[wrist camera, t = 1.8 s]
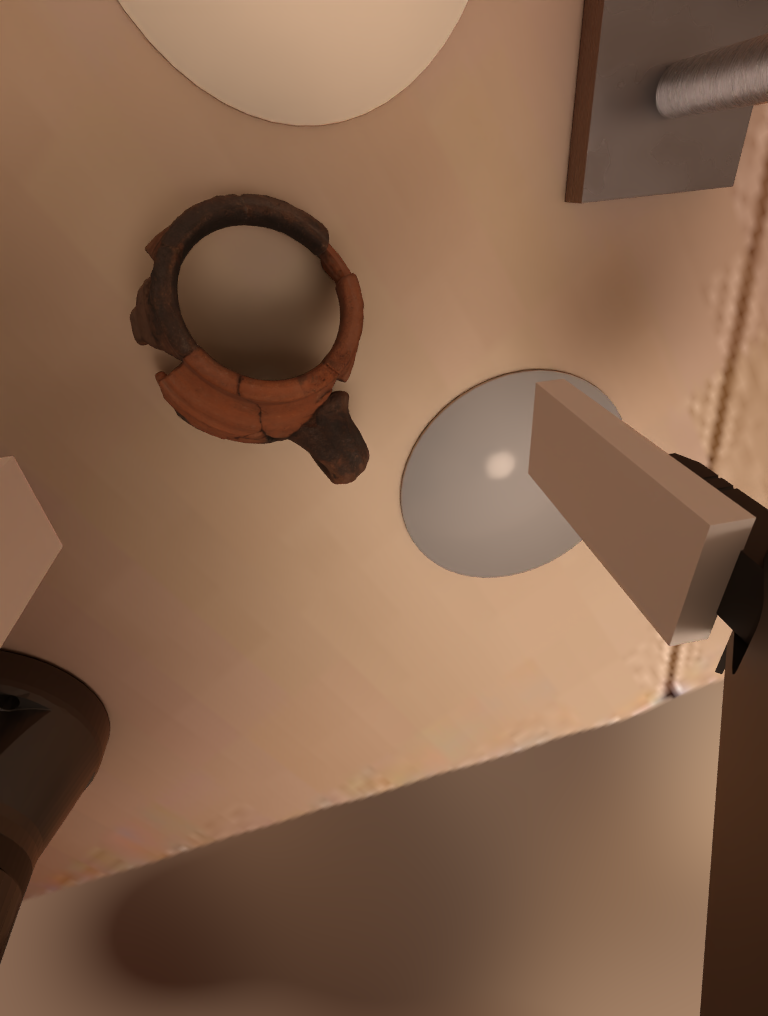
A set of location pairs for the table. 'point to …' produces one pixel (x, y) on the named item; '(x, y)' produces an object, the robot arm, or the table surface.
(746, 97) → the balance
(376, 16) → the cream plate
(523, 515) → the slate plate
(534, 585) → the table surface
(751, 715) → the robot arm
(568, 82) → the table surface
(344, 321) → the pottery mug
